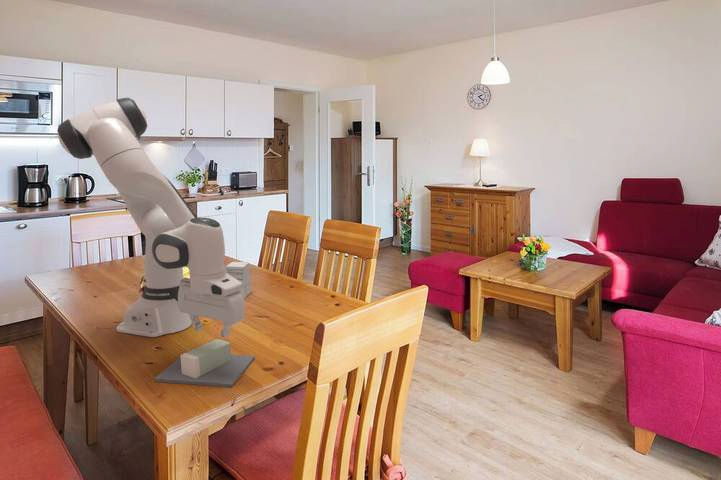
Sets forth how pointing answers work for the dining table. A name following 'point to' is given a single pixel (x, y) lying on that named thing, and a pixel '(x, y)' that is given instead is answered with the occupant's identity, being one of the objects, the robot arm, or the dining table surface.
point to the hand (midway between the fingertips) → (211, 333)
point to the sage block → (205, 358)
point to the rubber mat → (209, 373)
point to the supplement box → (241, 275)
